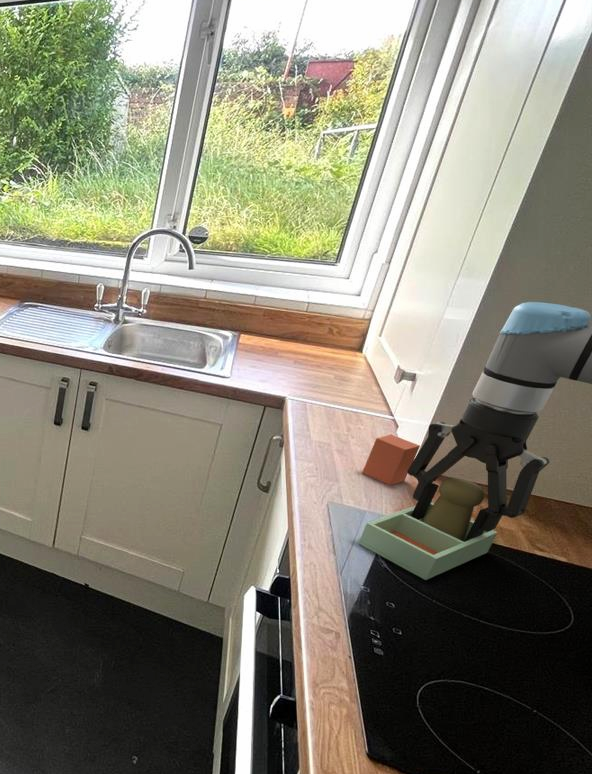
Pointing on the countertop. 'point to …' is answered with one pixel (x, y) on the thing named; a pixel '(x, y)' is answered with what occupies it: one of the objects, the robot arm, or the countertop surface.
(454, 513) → the cork
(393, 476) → the terracotta block
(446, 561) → the sorting tray
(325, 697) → the countertop surface
